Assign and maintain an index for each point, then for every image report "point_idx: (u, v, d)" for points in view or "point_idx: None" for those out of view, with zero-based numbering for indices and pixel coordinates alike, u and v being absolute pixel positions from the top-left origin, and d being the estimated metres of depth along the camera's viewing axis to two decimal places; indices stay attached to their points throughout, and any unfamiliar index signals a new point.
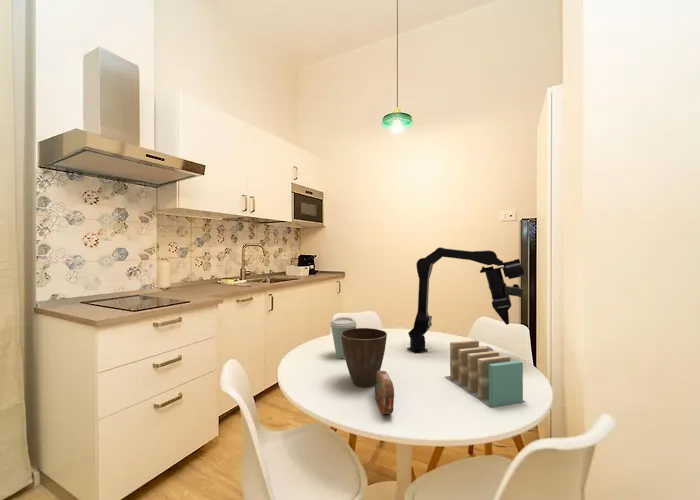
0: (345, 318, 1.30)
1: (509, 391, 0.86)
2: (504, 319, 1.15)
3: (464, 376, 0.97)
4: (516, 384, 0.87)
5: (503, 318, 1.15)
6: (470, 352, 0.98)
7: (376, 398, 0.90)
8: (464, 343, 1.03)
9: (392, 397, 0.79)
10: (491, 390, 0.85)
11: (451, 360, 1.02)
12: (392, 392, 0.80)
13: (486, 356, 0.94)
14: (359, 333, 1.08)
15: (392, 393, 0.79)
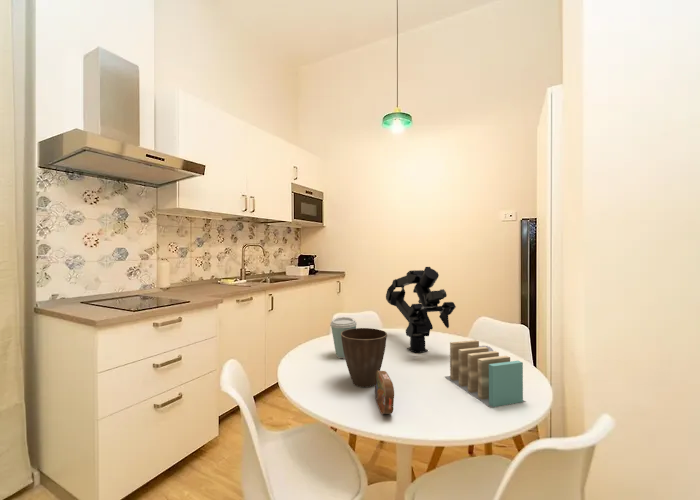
0: (345, 318, 1.30)
1: (509, 391, 0.86)
2: (427, 325, 1.18)
3: (464, 376, 0.97)
4: (516, 384, 0.87)
5: (426, 324, 1.19)
6: (470, 352, 0.98)
7: (376, 398, 0.90)
8: (464, 343, 1.03)
9: (392, 397, 0.79)
10: (491, 390, 0.85)
11: (451, 360, 1.02)
12: (392, 392, 0.80)
13: (486, 356, 0.94)
14: (359, 333, 1.08)
15: (392, 393, 0.79)
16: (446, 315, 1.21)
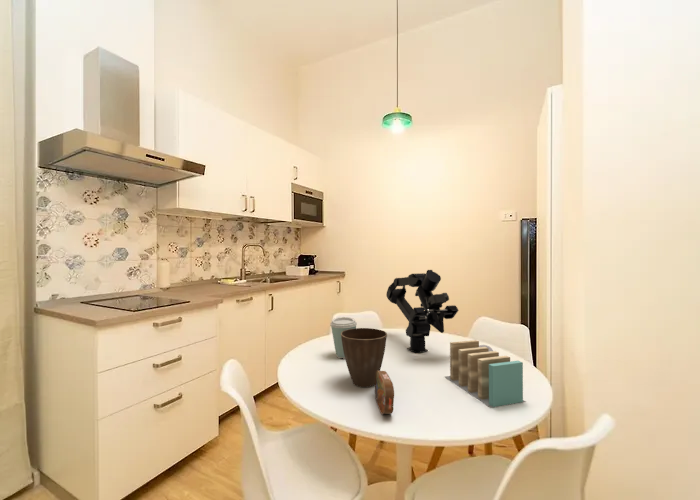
0: (345, 318, 1.30)
1: (509, 391, 0.86)
2: (437, 328, 1.18)
3: (464, 376, 0.97)
4: (516, 384, 0.87)
5: (436, 327, 1.18)
6: (470, 352, 0.98)
7: (376, 398, 0.90)
8: (464, 343, 1.03)
9: (392, 397, 0.79)
10: (491, 390, 0.85)
11: (451, 360, 1.02)
12: (392, 392, 0.80)
13: (486, 356, 0.94)
14: (359, 333, 1.08)
15: (392, 393, 0.79)
16: (441, 319, 1.18)
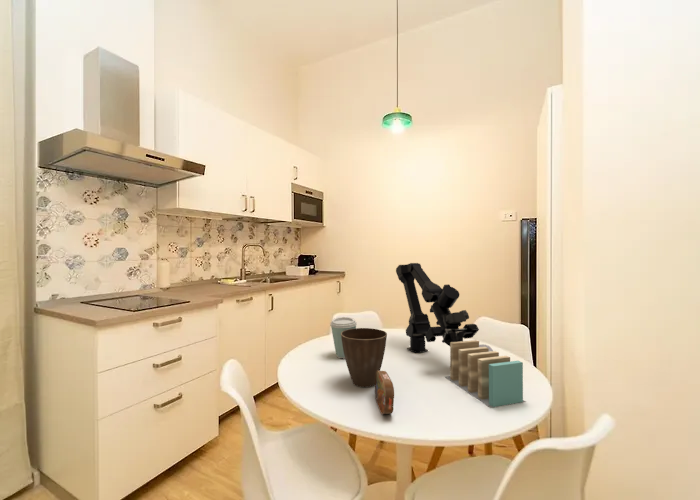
0: (345, 318, 1.30)
1: (509, 391, 0.86)
2: None
3: (464, 376, 0.97)
4: (516, 384, 0.87)
5: None
6: (470, 352, 0.98)
7: (376, 398, 0.90)
8: (464, 343, 1.03)
9: (392, 397, 0.79)
10: (491, 390, 0.85)
11: (451, 360, 1.02)
12: (392, 392, 0.80)
13: (486, 356, 0.94)
14: (359, 333, 1.08)
15: (392, 393, 0.79)
16: (460, 340, 1.07)
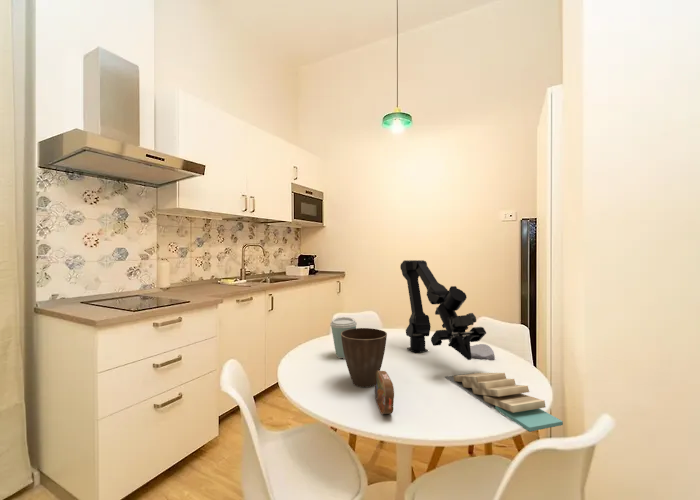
0: (345, 318, 1.30)
1: None
2: (463, 354, 1.03)
3: None
4: None
5: (462, 353, 1.03)
6: None
7: (376, 398, 0.90)
8: (489, 380, 0.92)
9: (392, 397, 0.79)
10: None
11: (465, 378, 0.96)
12: (392, 392, 0.80)
13: (513, 393, 0.84)
14: (359, 333, 1.08)
15: (392, 393, 0.79)
16: (468, 344, 1.04)
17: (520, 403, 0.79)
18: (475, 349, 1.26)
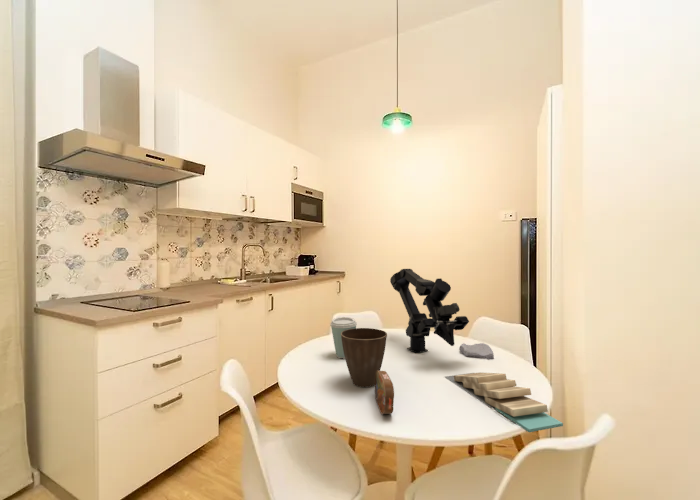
0: (345, 318, 1.30)
1: None
2: (447, 341, 1.11)
3: None
4: None
5: (446, 340, 1.12)
6: (495, 388, 0.88)
7: (376, 398, 0.90)
8: None
9: (392, 397, 0.79)
10: None
11: (465, 379, 0.95)
12: (392, 392, 0.80)
13: None
14: (359, 333, 1.08)
15: (392, 393, 0.79)
16: (451, 331, 1.12)
17: (521, 407, 0.78)
18: (474, 348, 1.27)
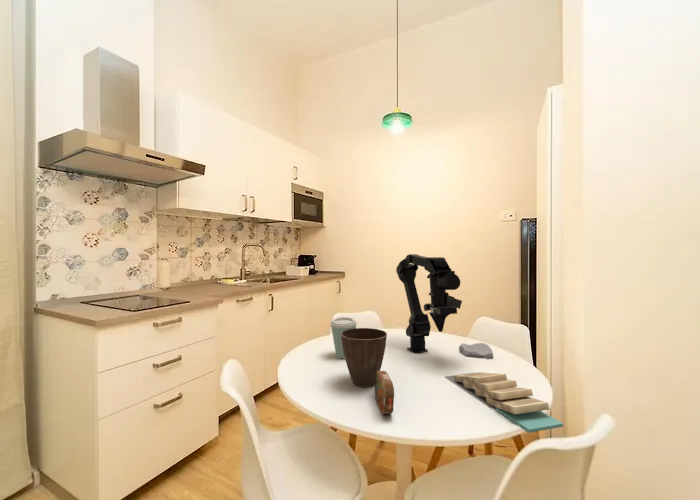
0: (345, 318, 1.30)
1: None
2: (439, 326, 1.17)
3: None
4: None
5: (439, 325, 1.17)
6: None
7: (376, 398, 0.90)
8: (491, 381, 0.91)
9: (392, 397, 0.79)
10: None
11: (466, 379, 0.95)
12: (392, 392, 0.80)
13: None
14: (359, 333, 1.08)
15: (392, 393, 0.79)
16: None
17: (522, 405, 0.78)
18: (474, 348, 1.27)
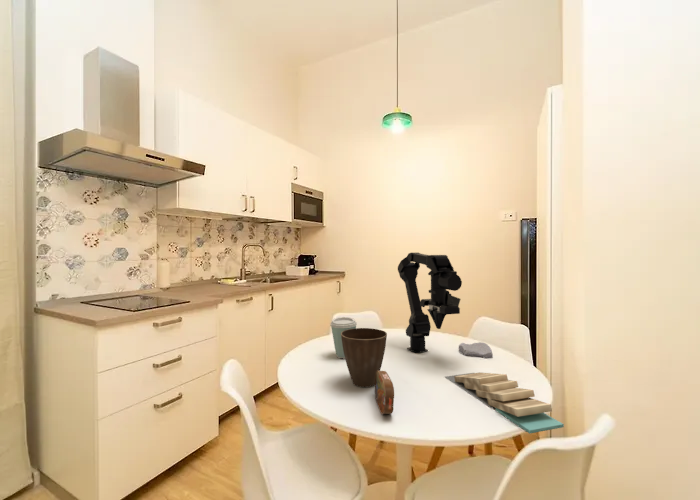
0: (345, 318, 1.30)
1: None
2: (438, 324, 1.18)
3: None
4: None
5: (438, 323, 1.18)
6: None
7: (376, 398, 0.90)
8: None
9: (392, 397, 0.79)
10: None
11: (467, 380, 0.95)
12: (392, 392, 0.80)
13: None
14: (359, 333, 1.08)
15: (392, 393, 0.79)
16: None
17: (525, 407, 0.77)
18: (473, 347, 1.28)
